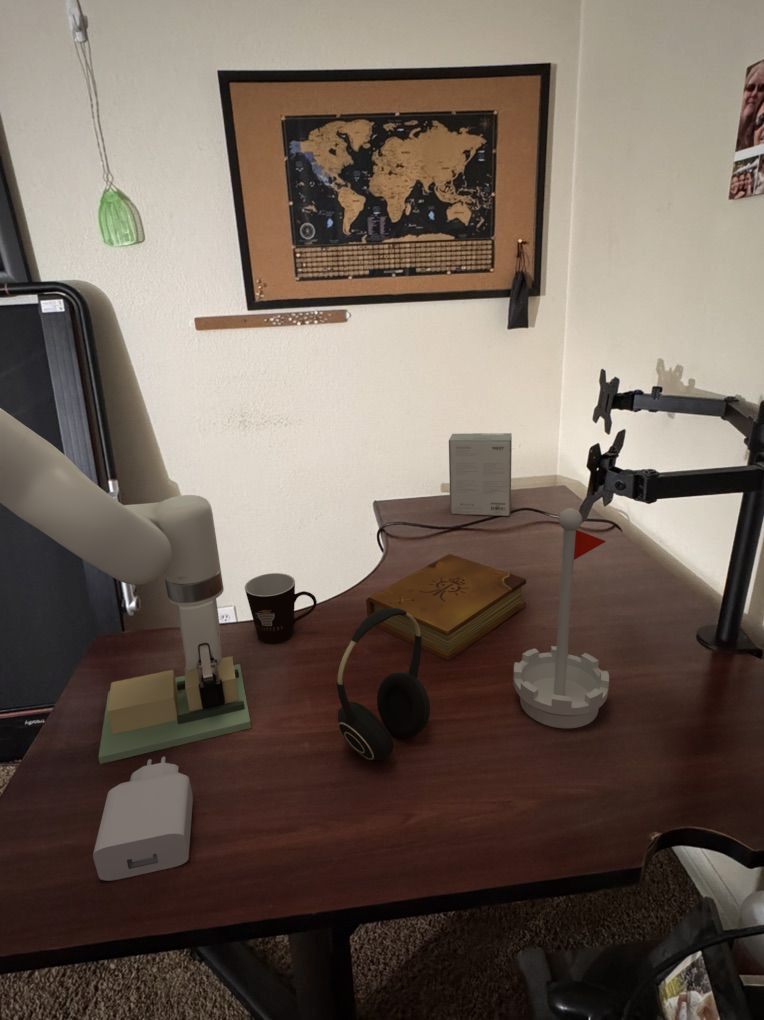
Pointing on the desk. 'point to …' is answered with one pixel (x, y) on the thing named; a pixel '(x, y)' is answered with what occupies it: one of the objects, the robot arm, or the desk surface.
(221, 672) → the yellow block
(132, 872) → the charger
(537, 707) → the flag stand
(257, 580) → the coffee mug
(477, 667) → the desk surface
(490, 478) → the hard drive box
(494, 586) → the diary
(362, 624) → the headphones
